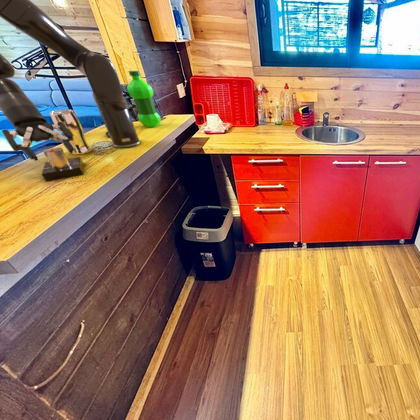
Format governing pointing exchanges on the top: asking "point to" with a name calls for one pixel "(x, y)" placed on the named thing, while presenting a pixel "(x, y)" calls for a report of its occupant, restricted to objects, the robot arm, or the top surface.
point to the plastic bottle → (143, 100)
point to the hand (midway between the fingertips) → (54, 155)
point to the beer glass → (72, 129)
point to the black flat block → (63, 170)
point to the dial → (56, 158)
